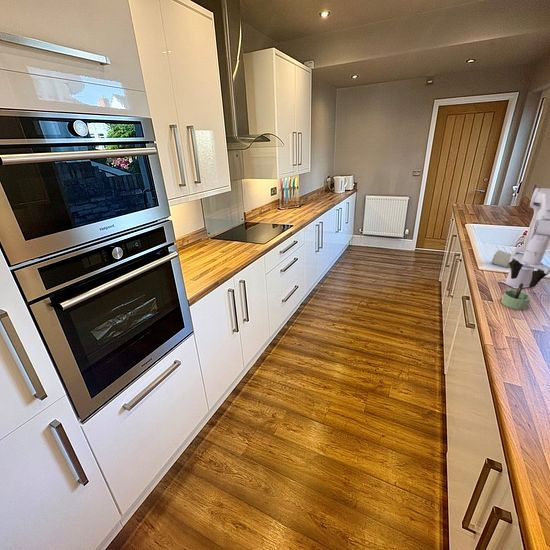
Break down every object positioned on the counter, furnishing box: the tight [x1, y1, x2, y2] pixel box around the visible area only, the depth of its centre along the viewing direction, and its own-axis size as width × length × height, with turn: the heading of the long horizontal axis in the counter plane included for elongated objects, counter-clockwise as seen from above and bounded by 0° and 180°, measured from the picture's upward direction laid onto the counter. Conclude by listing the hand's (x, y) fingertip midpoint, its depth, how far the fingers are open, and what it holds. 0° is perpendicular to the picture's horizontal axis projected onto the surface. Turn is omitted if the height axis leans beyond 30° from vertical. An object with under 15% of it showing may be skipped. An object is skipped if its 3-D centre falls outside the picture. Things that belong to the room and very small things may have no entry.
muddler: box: [515, 283, 524, 299], centre depth 120 cm, size 2×2×9 cm
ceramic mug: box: [491, 249, 512, 268], centre depth 156 cm, size 11×8×8 cm
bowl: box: [500, 289, 532, 311], centre depth 121 cm, size 9×9×4 cm
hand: (522, 282), depth 117 cm, fingers open, 7 cm apart
